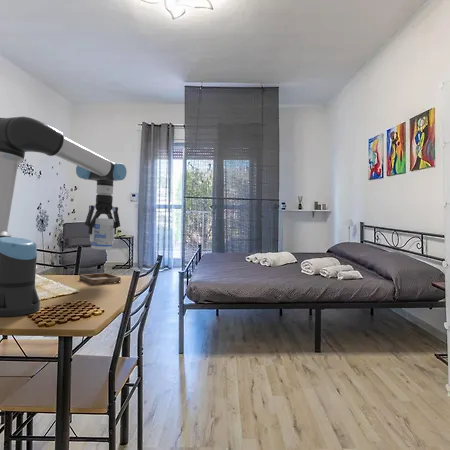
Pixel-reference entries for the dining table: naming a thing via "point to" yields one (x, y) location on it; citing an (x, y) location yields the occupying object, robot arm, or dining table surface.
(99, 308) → the dining table surface
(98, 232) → the supplement tub
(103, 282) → the well tray
